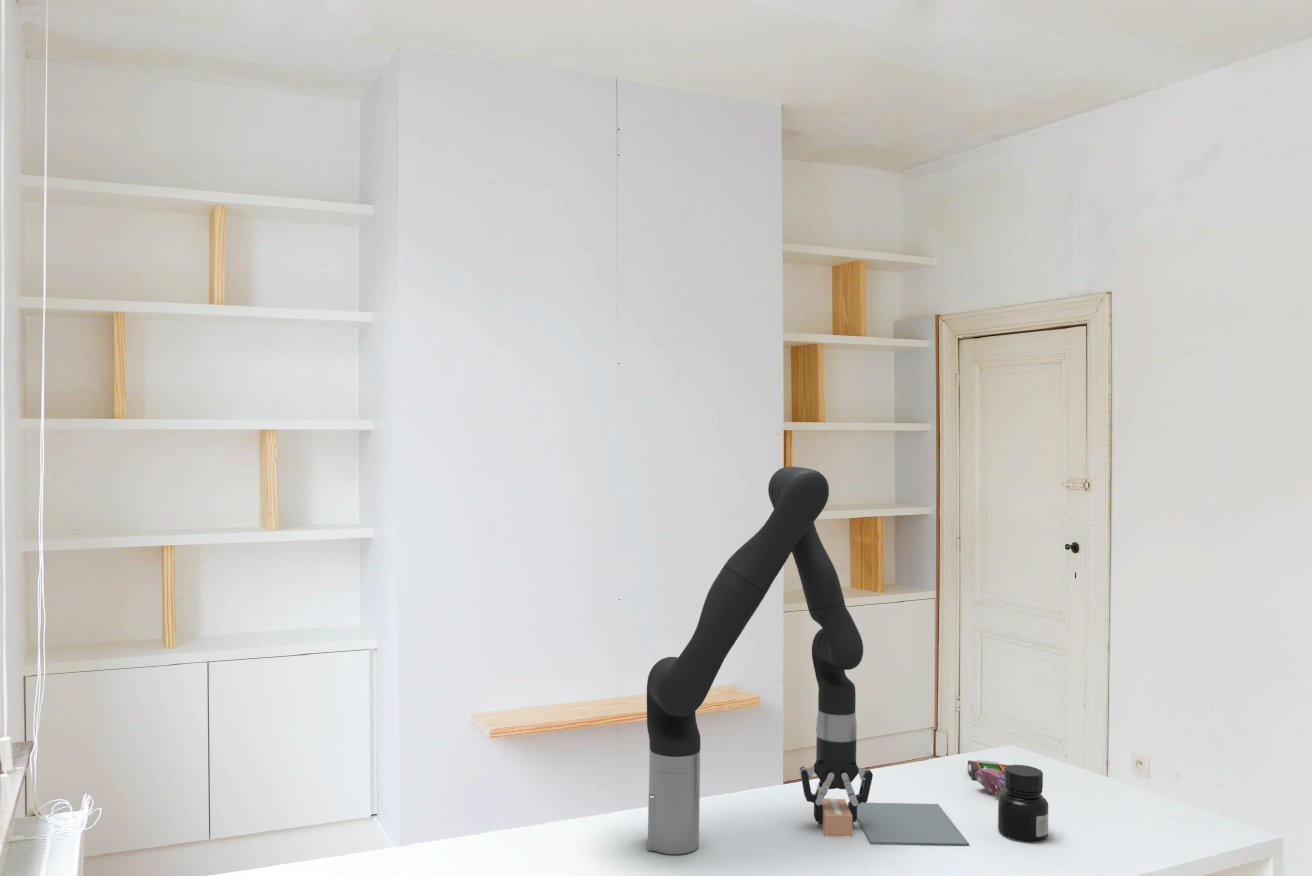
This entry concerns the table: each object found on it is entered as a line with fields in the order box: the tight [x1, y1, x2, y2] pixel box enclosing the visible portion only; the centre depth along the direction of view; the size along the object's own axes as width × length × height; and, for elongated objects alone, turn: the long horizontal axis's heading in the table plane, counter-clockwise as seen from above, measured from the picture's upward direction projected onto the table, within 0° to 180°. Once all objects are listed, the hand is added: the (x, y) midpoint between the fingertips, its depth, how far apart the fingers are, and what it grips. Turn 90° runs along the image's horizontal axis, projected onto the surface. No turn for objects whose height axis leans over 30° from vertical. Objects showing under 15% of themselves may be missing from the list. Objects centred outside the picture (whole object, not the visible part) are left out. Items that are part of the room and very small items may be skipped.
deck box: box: [821, 797, 853, 838], centre depth 185 cm, size 5×9×4 cm, turn 178°
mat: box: [857, 802, 970, 847], centre depth 187 cm, size 18×20×1 cm
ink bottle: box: [997, 764, 1049, 843], centre depth 183 cm, size 10×9×12 cm
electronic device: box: [967, 759, 1010, 780], centre depth 215 cm, size 7×3×15 cm
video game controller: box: [975, 767, 1005, 797], centre depth 203 cm, size 10×5×7 cm, turn 25°
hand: (835, 823), depth 185 cm, fingers open, 5 cm apart
